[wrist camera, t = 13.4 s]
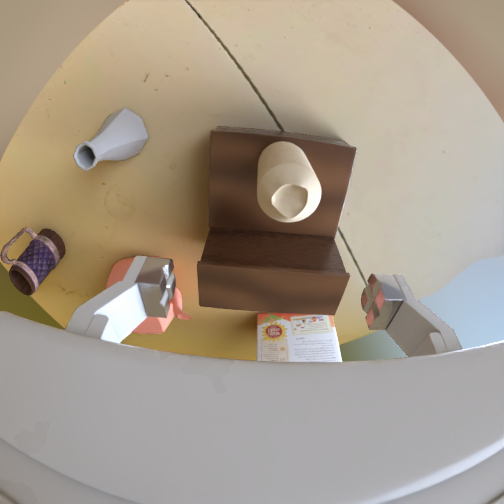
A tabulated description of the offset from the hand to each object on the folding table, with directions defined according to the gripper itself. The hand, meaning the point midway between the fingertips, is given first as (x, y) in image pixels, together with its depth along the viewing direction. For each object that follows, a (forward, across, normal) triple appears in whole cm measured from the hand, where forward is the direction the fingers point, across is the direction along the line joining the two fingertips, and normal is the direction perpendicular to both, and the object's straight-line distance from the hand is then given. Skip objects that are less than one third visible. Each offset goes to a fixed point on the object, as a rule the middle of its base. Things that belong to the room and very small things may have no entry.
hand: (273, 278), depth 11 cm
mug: (+26, +39, +18) cm, 50 cm away
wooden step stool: (+26, -2, +8) cm, 28 cm away
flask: (+26, +19, 0) cm, 32 cm away
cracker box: (+26, -9, +34) cm, 43 cm away
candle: (+22, -2, +2) cm, 22 cm away
